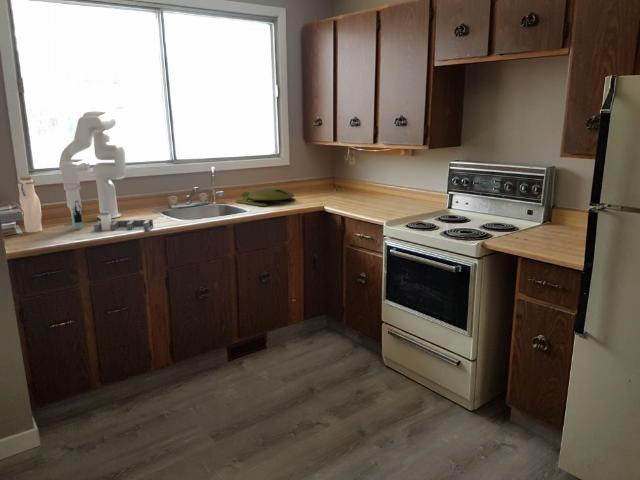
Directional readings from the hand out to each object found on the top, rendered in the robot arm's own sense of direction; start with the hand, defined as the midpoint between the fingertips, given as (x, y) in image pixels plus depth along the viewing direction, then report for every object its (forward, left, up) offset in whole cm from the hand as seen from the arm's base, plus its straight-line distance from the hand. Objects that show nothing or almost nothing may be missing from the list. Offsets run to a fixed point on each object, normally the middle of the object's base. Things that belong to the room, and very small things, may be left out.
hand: (77, 221), depth 262 cm
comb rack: (+3, +23, -5) cm, 24 cm away
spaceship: (-65, +101, -6) cm, 121 cm away
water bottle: (-4, -23, -5) cm, 24 cm away
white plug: (+3, +15, -4) cm, 16 cm away
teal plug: (0, 0, -3) cm, 3 cm away
